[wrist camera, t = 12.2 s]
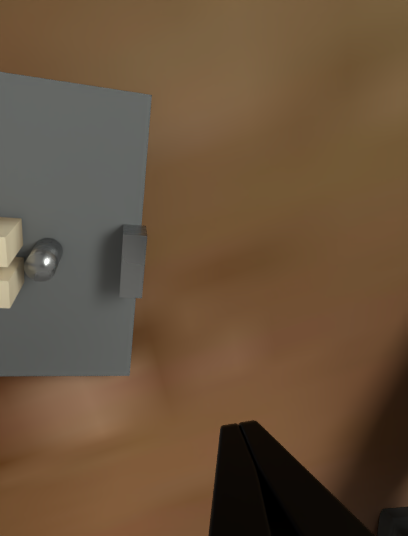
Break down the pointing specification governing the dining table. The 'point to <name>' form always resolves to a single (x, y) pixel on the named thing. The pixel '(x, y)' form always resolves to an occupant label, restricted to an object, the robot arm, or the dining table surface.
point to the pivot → (132, 261)
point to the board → (71, 221)
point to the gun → (393, 522)
